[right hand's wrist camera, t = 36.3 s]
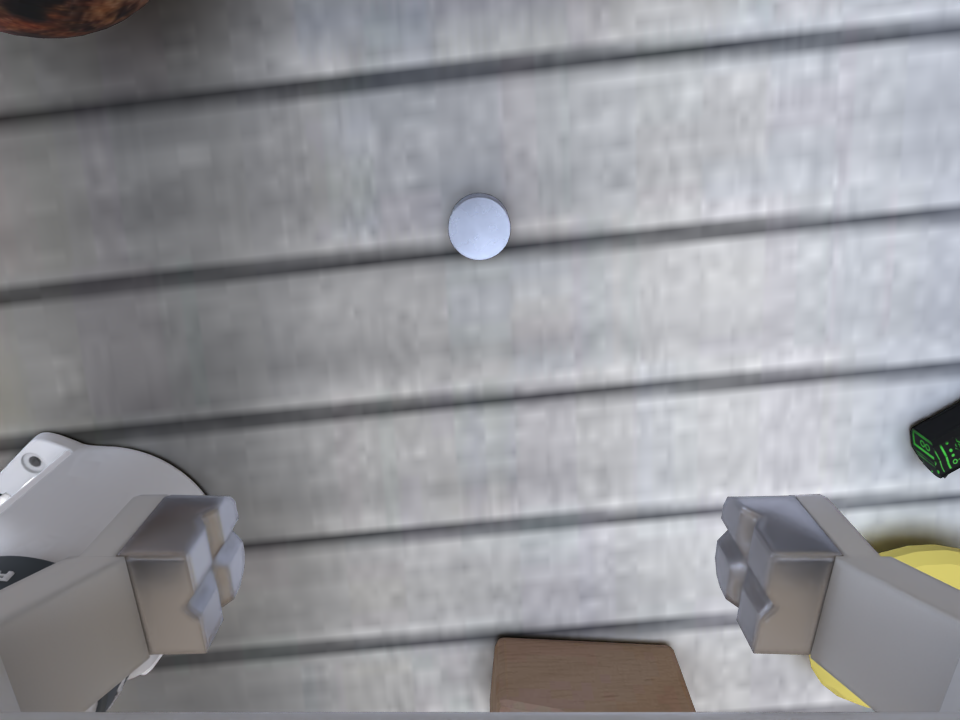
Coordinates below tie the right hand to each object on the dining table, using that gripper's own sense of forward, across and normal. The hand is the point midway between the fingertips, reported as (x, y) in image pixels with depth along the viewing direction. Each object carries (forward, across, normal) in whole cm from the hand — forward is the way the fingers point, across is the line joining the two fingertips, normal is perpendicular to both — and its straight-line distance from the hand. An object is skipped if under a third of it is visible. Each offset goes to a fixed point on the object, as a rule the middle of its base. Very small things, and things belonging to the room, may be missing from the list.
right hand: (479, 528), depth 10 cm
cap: (+30, 0, 0) cm, 30 cm away
